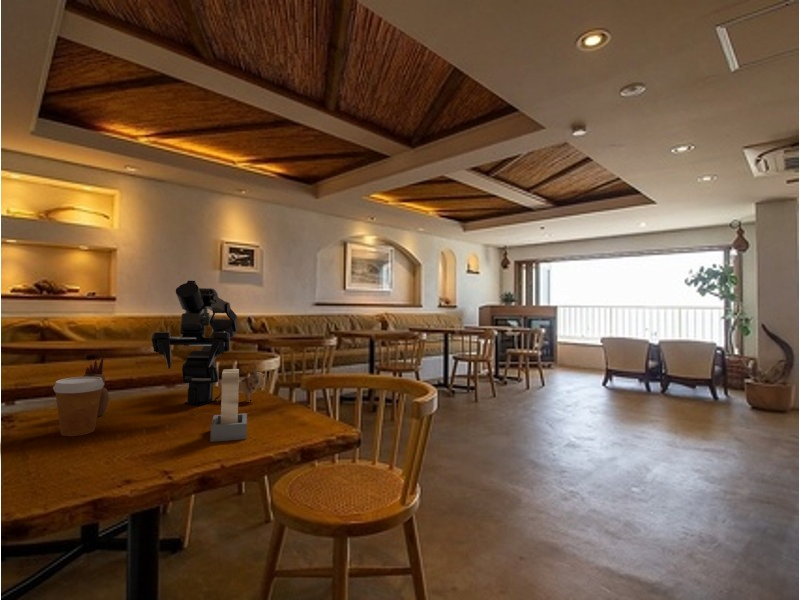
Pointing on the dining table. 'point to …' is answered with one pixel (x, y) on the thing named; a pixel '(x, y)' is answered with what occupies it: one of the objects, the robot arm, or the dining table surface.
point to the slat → (229, 396)
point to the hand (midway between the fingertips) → (188, 367)
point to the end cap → (228, 429)
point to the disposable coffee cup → (78, 404)
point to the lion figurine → (250, 384)
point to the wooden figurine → (104, 393)
